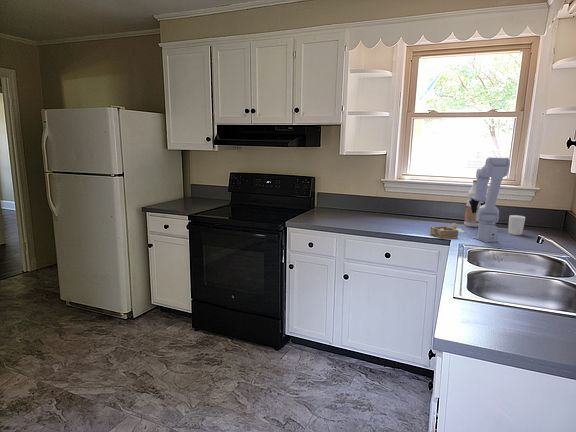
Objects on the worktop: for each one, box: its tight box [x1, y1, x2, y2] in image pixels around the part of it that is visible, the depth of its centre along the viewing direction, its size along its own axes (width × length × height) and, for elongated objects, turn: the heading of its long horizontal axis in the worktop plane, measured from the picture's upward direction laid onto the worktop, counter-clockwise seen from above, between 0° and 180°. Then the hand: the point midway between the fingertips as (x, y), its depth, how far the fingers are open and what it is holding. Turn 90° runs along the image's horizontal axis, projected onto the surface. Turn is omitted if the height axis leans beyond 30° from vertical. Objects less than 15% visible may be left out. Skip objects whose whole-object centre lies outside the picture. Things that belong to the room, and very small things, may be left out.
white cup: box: [508, 214, 526, 236], centre depth 226 cm, size 8×8×10 cm
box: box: [430, 225, 459, 239], centre depth 217 cm, size 10×10×4 cm
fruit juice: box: [463, 179, 484, 228], centre depth 243 cm, size 9×9×28 cm
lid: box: [451, 223, 466, 234], centre depth 231 cm, size 10×10×4 cm
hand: (478, 214), depth 227 cm, fingers open, 7 cm apart
